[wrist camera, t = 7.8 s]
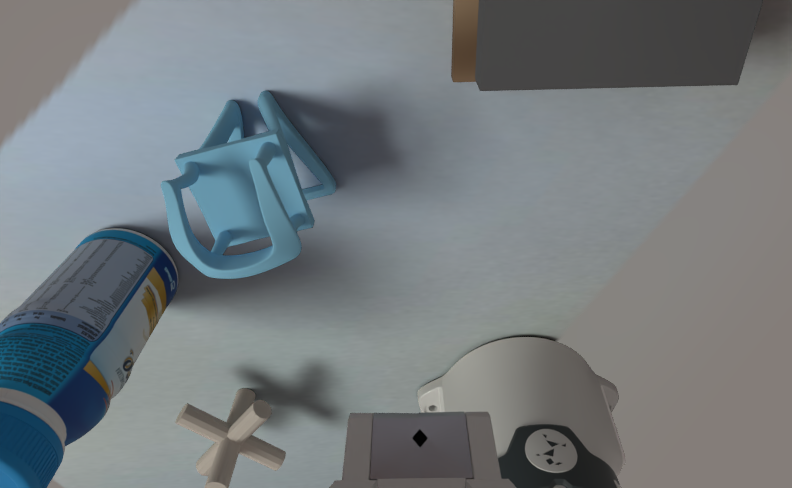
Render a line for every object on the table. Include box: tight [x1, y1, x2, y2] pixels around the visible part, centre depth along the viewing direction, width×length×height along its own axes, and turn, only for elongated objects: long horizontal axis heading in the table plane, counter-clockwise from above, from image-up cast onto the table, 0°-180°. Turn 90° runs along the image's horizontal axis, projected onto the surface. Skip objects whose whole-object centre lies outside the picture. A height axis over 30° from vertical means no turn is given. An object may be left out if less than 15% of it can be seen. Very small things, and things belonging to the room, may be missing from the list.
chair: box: [161, 91, 336, 279], centre depth 34 cm, size 8×8×12 cm
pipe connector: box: [176, 388, 286, 488], centre depth 48 cm, size 10×10×10 cm
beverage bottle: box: [0, 228, 178, 488], centre depth 36 cm, size 8×8×20 cm
